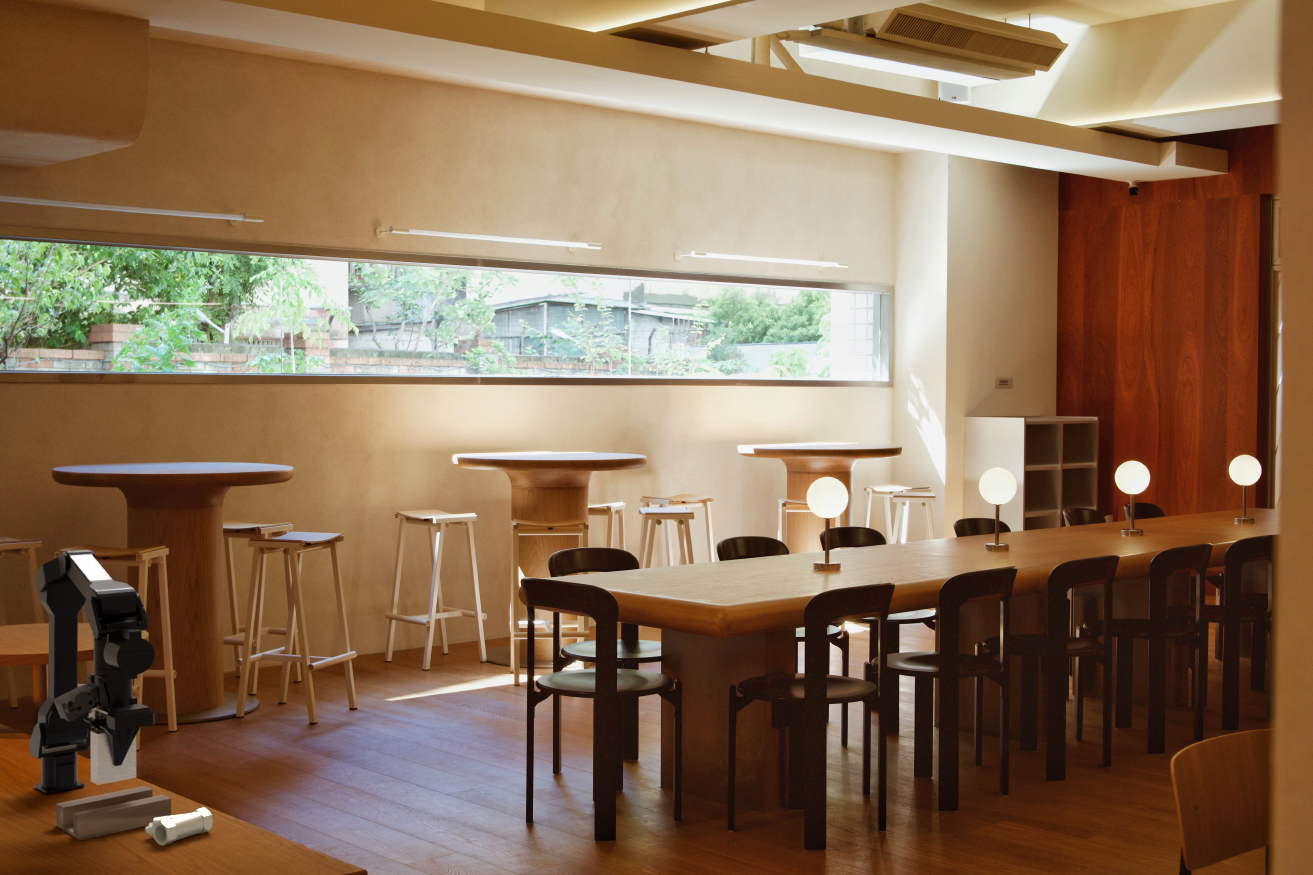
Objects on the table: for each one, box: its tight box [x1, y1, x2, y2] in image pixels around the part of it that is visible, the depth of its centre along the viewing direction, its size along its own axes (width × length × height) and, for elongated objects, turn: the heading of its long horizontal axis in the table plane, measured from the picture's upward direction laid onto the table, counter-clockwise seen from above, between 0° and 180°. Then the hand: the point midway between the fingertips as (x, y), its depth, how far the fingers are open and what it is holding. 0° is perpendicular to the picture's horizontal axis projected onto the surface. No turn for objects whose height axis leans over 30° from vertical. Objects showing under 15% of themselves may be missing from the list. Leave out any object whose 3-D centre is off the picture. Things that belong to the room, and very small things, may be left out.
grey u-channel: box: [56, 785, 172, 841], centre depth 194 cm, size 10×14×4 cm
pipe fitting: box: [145, 806, 213, 846], centre depth 187 cm, size 8×4×7 cm
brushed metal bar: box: [90, 729, 137, 786], centre depth 194 cm, size 3×6×8 cm, turn 135°
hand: (113, 763), depth 194 cm, fingers closed on brushed metal bar, 3 cm apart
